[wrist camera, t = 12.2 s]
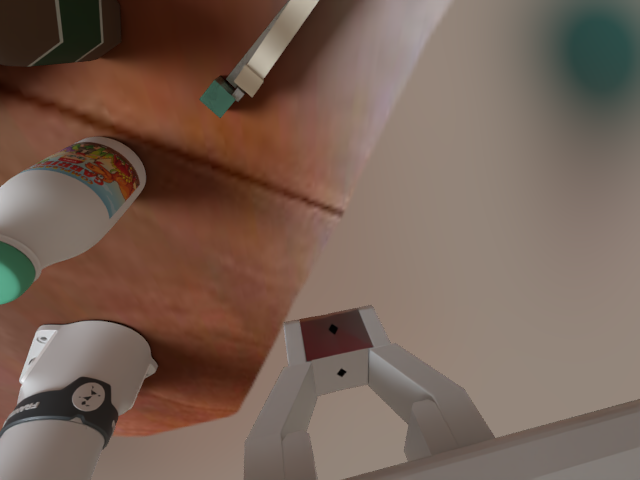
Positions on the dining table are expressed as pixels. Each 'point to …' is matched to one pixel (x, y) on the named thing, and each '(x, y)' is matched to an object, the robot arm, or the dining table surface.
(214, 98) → the dark green brushed box
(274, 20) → the grey metal rod
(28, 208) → the milk bottle
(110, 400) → the robot arm
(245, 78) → the grey rectangular bar
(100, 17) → the beer bottle
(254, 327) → the dining table surface
